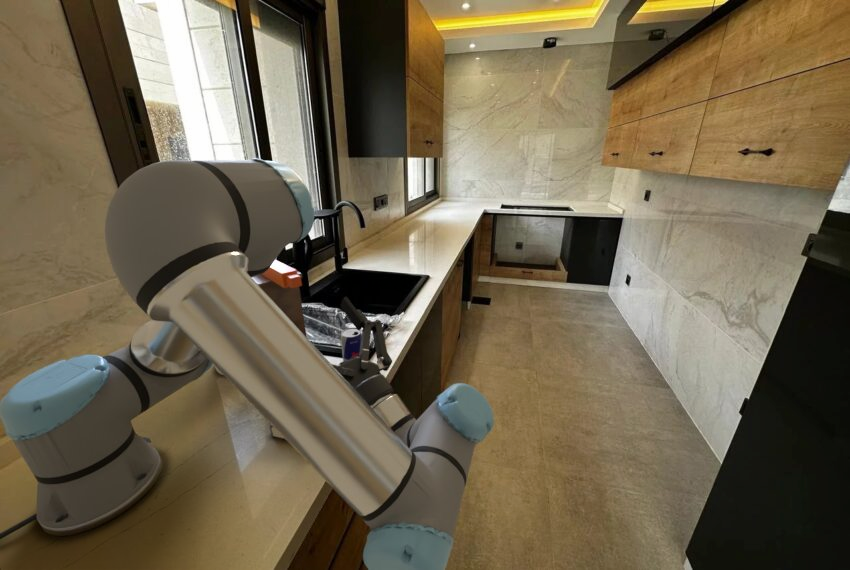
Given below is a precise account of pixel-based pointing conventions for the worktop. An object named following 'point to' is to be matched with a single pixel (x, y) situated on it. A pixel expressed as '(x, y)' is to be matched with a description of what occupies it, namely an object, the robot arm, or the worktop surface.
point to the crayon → (283, 275)
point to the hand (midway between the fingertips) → (311, 312)
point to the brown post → (284, 299)
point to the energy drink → (350, 343)
